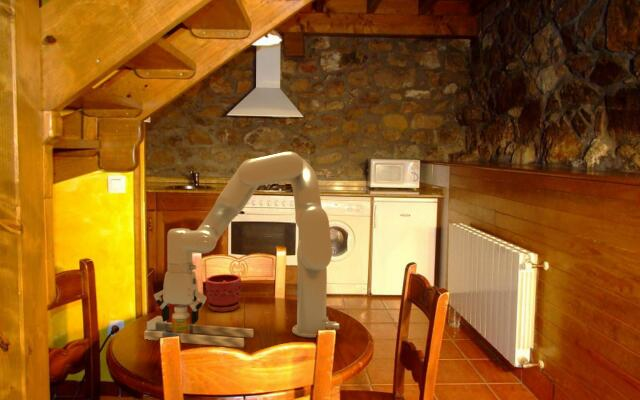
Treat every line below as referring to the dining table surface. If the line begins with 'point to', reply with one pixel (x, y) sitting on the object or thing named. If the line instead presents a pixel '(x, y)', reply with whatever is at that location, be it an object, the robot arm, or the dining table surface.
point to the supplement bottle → (181, 320)
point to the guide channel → (160, 328)
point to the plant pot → (223, 292)
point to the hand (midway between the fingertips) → (180, 321)
